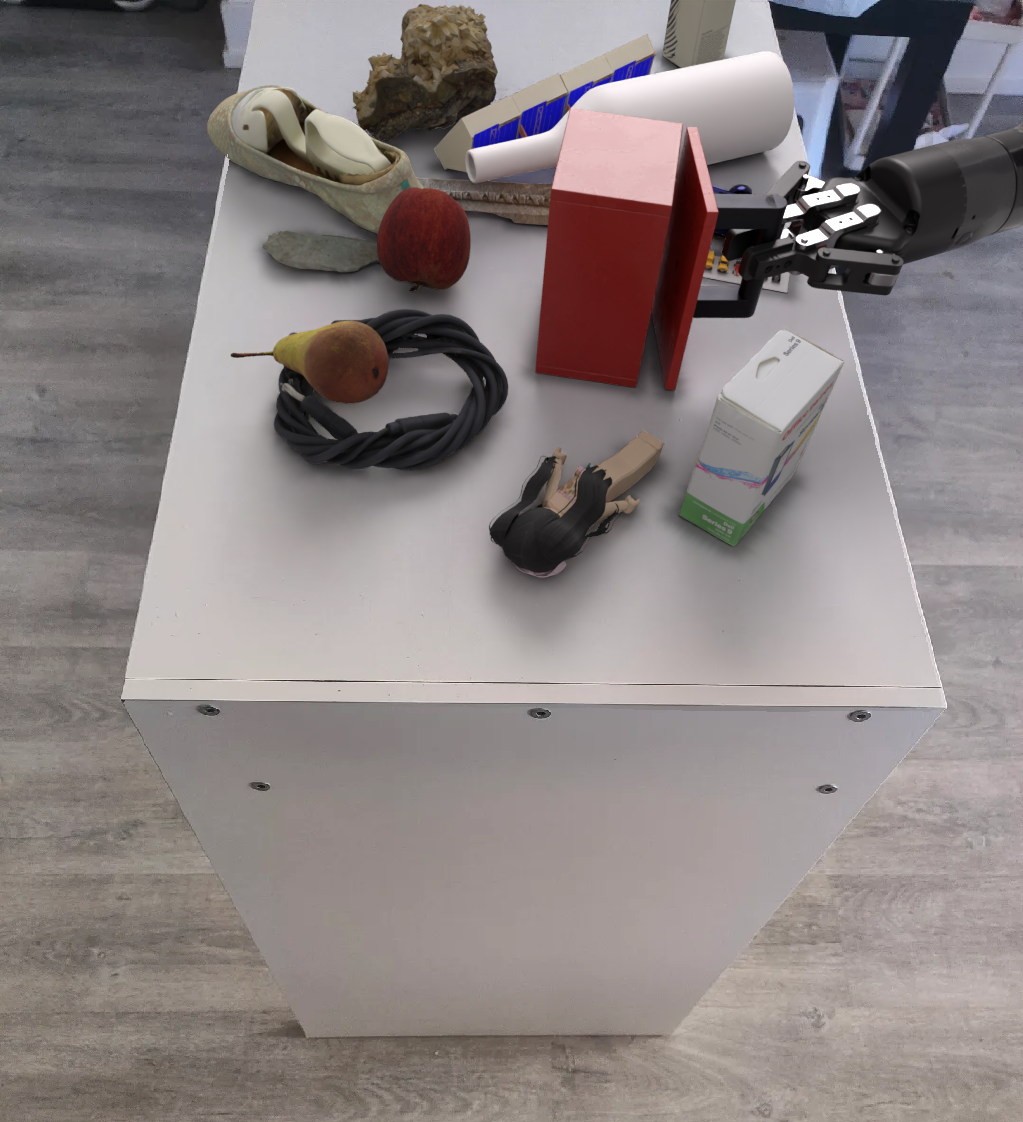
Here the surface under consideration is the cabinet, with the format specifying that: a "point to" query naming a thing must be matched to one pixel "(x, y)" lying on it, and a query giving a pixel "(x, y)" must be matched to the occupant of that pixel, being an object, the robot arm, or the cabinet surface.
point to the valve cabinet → (605, 244)
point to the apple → (424, 239)
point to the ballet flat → (311, 151)
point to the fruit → (335, 360)
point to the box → (697, 31)
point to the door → (704, 255)
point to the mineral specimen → (429, 74)
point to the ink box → (758, 434)
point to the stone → (321, 251)
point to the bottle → (671, 113)
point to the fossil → (498, 198)
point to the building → (542, 103)
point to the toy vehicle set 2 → (729, 272)
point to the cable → (404, 438)
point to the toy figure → (571, 507)
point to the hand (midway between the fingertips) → (735, 255)
